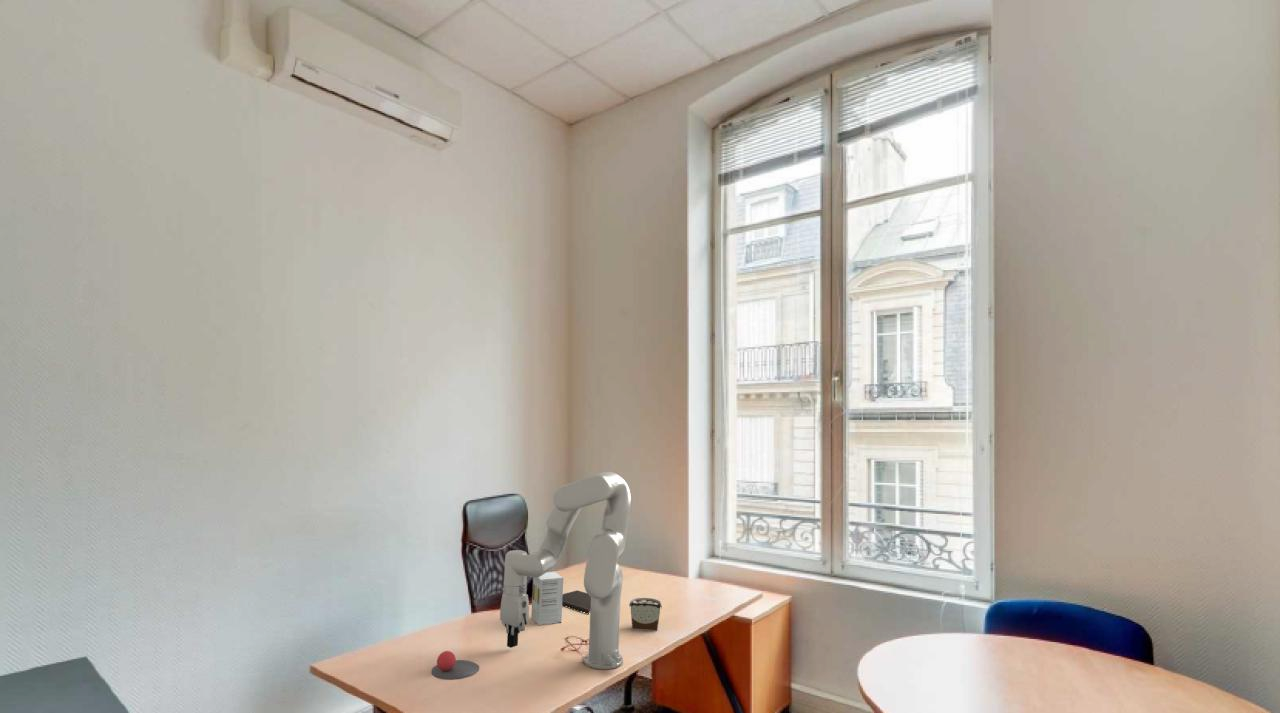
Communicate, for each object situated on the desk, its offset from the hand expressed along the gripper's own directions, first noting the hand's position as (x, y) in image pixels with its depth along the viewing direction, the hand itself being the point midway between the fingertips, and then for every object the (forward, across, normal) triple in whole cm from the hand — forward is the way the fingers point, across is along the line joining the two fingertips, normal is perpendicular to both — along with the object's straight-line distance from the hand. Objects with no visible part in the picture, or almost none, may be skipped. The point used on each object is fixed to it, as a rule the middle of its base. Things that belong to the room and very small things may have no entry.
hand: (512, 646), depth 212 cm
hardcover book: (+2, +20, -54) cm, 57 cm away
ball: (-1, +2, +24) cm, 24 cm away
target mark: (+2, 0, +22) cm, 22 cm away
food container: (+2, -17, -50) cm, 52 cm away
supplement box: (+2, +15, -28) cm, 32 cm away
